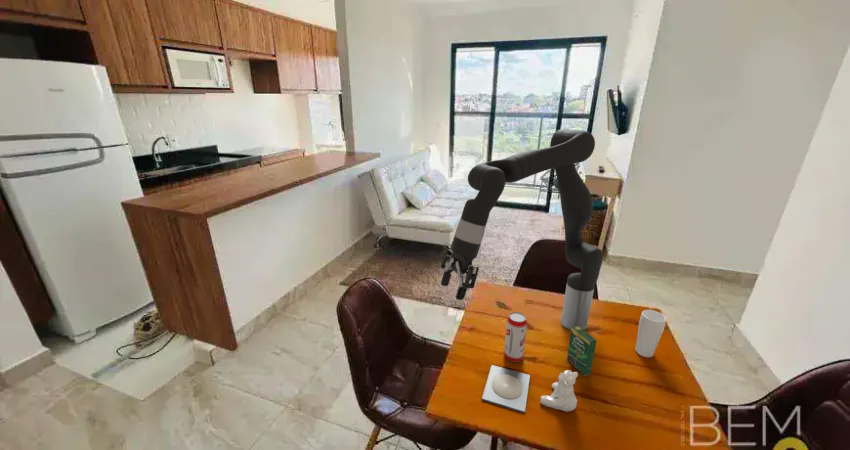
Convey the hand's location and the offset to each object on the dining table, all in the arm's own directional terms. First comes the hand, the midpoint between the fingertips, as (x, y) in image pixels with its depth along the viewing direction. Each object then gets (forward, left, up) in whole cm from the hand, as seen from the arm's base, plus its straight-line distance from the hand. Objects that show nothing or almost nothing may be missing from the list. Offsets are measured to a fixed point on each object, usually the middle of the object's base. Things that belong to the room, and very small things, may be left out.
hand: (451, 292), depth 94 cm
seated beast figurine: (-3, +32, -31) cm, 45 cm away
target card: (-2, +17, -31) cm, 35 cm away
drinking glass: (-34, +58, -31) cm, 74 cm away
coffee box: (-19, +37, -31) cm, 52 cm away
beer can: (-16, +17, -31) cm, 39 cm away
